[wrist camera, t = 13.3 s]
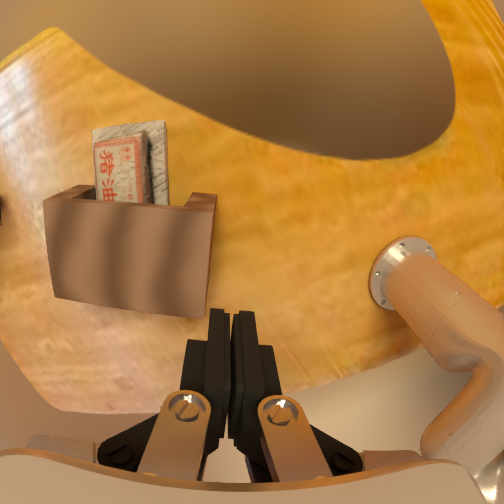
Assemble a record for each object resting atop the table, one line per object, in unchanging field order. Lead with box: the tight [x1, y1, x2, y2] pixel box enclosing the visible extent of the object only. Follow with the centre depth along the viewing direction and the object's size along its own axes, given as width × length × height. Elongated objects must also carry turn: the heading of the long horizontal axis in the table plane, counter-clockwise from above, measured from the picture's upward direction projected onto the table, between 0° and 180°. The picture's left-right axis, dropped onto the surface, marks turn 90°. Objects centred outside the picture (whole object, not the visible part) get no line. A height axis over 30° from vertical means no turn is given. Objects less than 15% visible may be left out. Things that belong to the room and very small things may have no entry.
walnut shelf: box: [43, 185, 217, 319], centre depth 33 cm, size 19×12×9 cm, turn 82°
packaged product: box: [92, 120, 169, 205], centre depth 33 cm, size 18×5×10 cm
